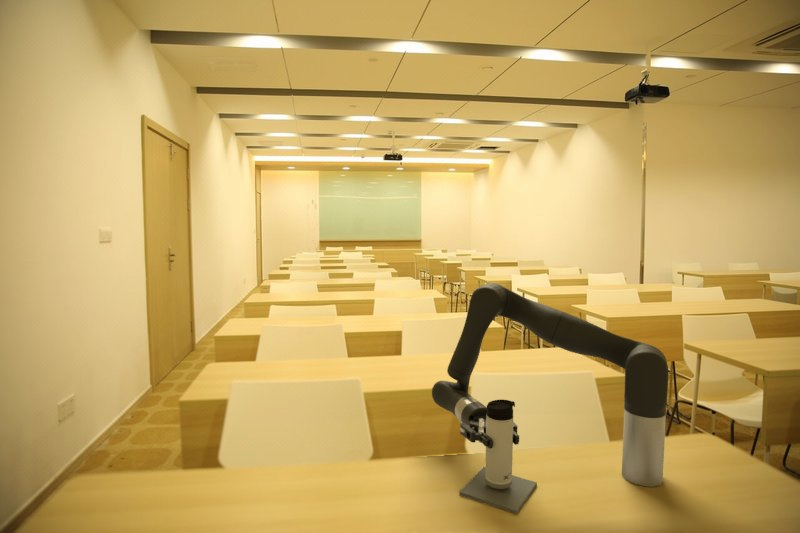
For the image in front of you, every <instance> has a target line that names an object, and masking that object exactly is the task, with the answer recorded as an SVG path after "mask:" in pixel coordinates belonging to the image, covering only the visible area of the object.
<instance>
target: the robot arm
mask: <svg viewBox="0 0 800 533" xmlns="http://www.w3.org/2000/svg"><path fill="white" fill-rule="evenodd" d="M497 316H500V317H504V318H506V319H509V320H511V321H515V322H516V323H519V324H520V325H522V326H524V327H525V328H527V329H528V330H529V331H530V332H532V333H533V334H534V335H535V336H537V337H538V338H540V339H541V340H542V341H545V342H546V343H548V344H551V345H552V346H555V347H557V348H560V349H561V350H565V351H567V352H571V353H574V354H579V355H582V356H589V357H594V358H599V359H602V360H605V361H607V362H610V363H612V364H613V365H617V366H618V367H620V368H622V369H624V393H623V394H624V396H623V398H624V400H623V402H624V403H623V406H624V407H623V429H622V430H623V431H622V433H623V434H622V435H623V436H622V456H621V457H622V458H621V459H622V460H621V475H622V477H623V478H624V479H626V480H627V481H628V482H630V483H633V484H635V485H638V486H643V487H648V488H649V487H651V488H653V487H658V486H661V485H662V484H663V483H664V482H663V481H664V480H663V479H664V464H665V463H664V458H665V439H666V438H665V435H666V416H667V415H666V414H667V413H666V411H667V403H668V387H669V366H668V360H667V358H666V356H665V354H664V353H663V352H662V351H661V350H660V349H659V348H658V347H656V346H654V345H653V344H652V345H651V344H649V343H645V342H641V341H638V340H634V339H631V338H627V337H624V336H621V335H618V334H615V333H613V332H610V331H608V330H606V329H604V328H602V327H600V326H598V325H595V324H593V323H591V322H589V321H587V320H584V319H582V318H580V317H578V316H575V315H573V314H570V313H567V312H565V311H563V310H560V309H558V308H557V309H556V308H555V307H551V306H549V305H547V304H546V305H545V304H543V303H541V302H537V301H534V300H531V299H529V298H526V297H524V296H522V295H520V294H519V293H516V292H515V291H513V290H510V289H509V288H507V287H505V286H503V285H501V284H499V283H495V282H488V283H485V284H483V285H480V286H479V287H476V289H474V291H473V292H472V293H471V297H470V301H469V305H468V309H467V313H466V318H465V322H464V325H463V329H462V331H461V335H460V337H459V340H458V342H457V345H456V347H455V349H454V351H453V354H452V356H451V358H450V360H449V364H448V366H447V370H446V371H447V375H448V376H449V377H450V378H451V379H453V380H455V381H456V382H453V381H448V380H438V381H437V382H435V383H434V384H433V386H432V388H431V398H432V400H433V401H434V403H435V405H437V406H439V407H440V408H442V409H444V410H446V411H449V412H450V413H452V414H453V415H454V416H455V418H457V420H458V421H459V423H460V425H459V426H460V429H459V430H460V431H459V433H460V435H461V436H463V438H465V439H467V440H468V441H469V442H470V443H476V441H477V442H478V443H481V444H483V446H484V447H485V448H486V447H488V448H489V449H490V448H493V441H492V439H491V438H490V437H489V436H488V435H487V434H486V417H487V416H486V414H487V405H484V404H483V403H482V402H480V401H479V400H478V399H477V398H474V397H473V396H472V395H470V394H469V389H470V388H469V387H470V386H469V385H470V381H471V376H472V374H473V371H474V369H475V366H476V364H477V362H478V360H479V356H480V352H481V348H482V343H483V340H484V337H485V335H486V332H487V330H488V328H489V327H490V325H491V323H492V322H493V320H494V319H495V318H496V317H497ZM518 427H519V426H518V424H516V423H515V421H513V445H519V444H520V435H519V434H518Z"/></svg>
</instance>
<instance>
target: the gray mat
mask: <svg viewBox="0 0 800 533" xmlns="http://www.w3.org/2000/svg"><path fill="white" fill-rule="evenodd" d="M485 475H486V474H485V466H483V467H482V468H481V469H480V470H479V471H478V472H477V473H476V474H475V475H474V476H473V477H472V478H471V479H470V480H469V481H468V482H467V484H465V485H464V487H463V488H462V489H460V491H459V494H458V495H459V496H461V497H464V498H468V499H471V500H473V501H476V502H479V503H483V504H484V505H488V506H491V507H493V508H497V509H500V510H502V511H506V512H508V513H509V512H510V513H511V514H515V515H518V514H519V512H520V510H521V509H522V507H523V506H524V504H525V503H526V502H527V500H528V499H529V498H530V496H531V494H532V493H533V492H534V490H535V489H536V487H537V486H538V485H537V484H538V482H536V481H534V480H530V479H526V478H524V477H520V476H516V475H513V474H512V484H511V486H510V487H508V488H505V489H496V488H493V487H491V486H489V485H488V484H487V483H486V481H485Z"/></svg>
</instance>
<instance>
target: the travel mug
mask: <svg viewBox="0 0 800 533" xmlns="http://www.w3.org/2000/svg"><path fill="white" fill-rule="evenodd" d="M486 407H487V414H486V416H487V417H486V434H487V435H488V436H489V437H490V438H491V439H492V441H493V448H490V449H489V448H488V447H486V446H485V466H484V467H485V474H486V475H485V481H486V483H487V484H488V485H489V486H491V487H493V488H496V489H505V488H508V487H510V486H511V484H512V475H513V453H514V452H513V451H514V450H513V448H514V447H513V445H514V443H513V422H514V408H515V407H516V402H515V401H514V400H512V401H511V400H508V399H495V400H491V401H489V402H488V403H487V404H486Z"/></svg>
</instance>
